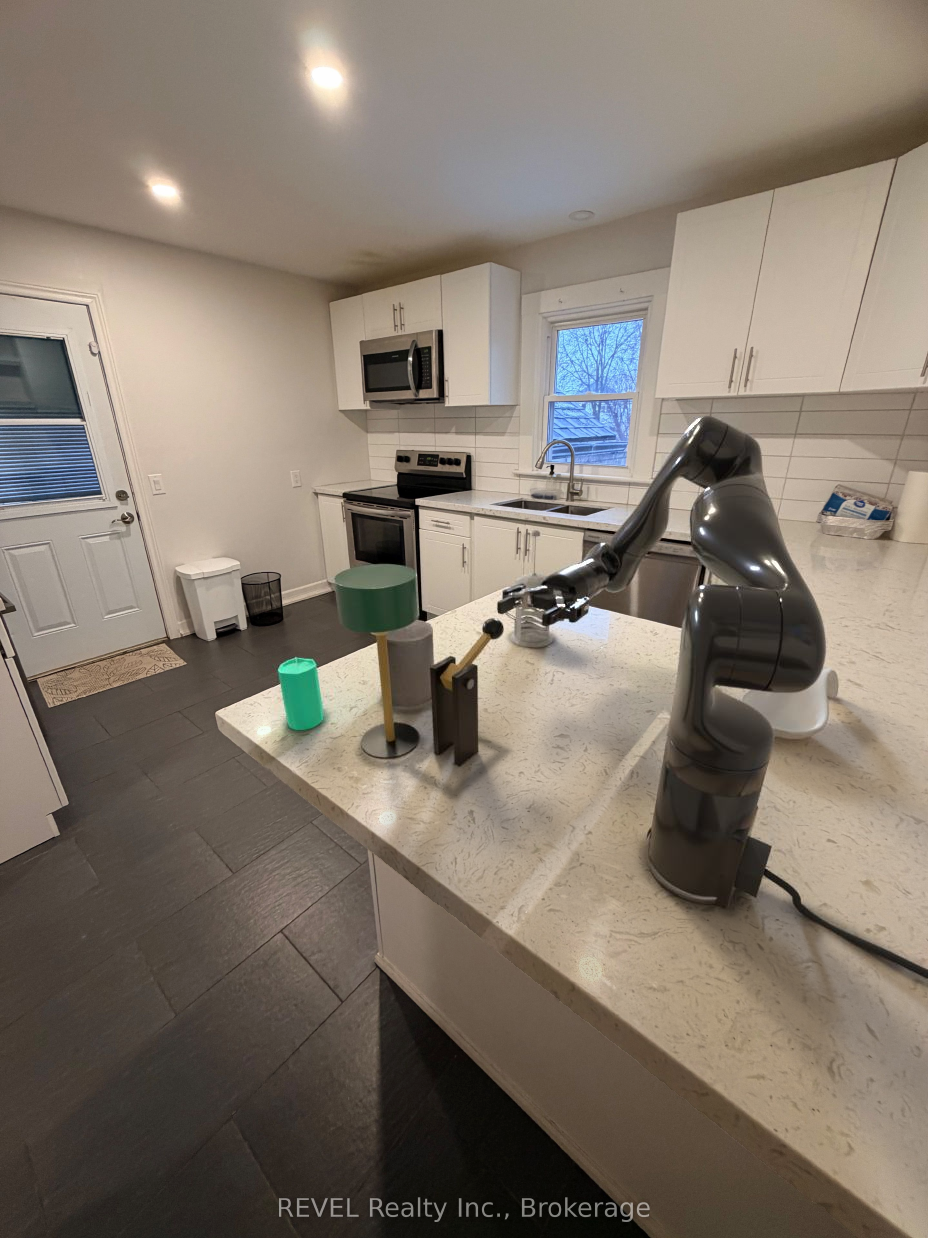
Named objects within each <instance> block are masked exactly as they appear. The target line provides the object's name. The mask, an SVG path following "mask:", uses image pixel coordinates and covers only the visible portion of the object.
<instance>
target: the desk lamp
mask: <svg viewBox="0 0 928 1238" xmlns="http://www.w3.org/2000/svg"><path fill="white" fill-rule="evenodd" d="M333 583H334V584H333V585H334V592H335V600H336V609H337V616H338V623H339V625H340V626H342V628H344V629H346V630H349V631H353V632H356V633H357V632H358V633H365V634H368V633H370V634H371V635H373V636H375V638H376V639H375V640H376V650H377V660H378V670H379V680H380V681H379V683H380V693H381V702H382V703H381V704H382V713H383V723H380V724H377V725H376V726H373V727H371V728H370V729H368V730H367V731H366V732H365V733H364V734H363V735H362V738H361V739H360V745H361V749H362V751H363V752H364V753H365V754H366V755H368V756H370V757H373V758H376V759H380V760H381V759H383V760H391V759H396V758H400V757H403V756H406V755H408V754H410V753H411V752H413V751H414V750H415V749H416V747H417V746H418V745H419V743H420V740H421V739H420V738H421V737H420V733H419V731H418V730H417V728H415V727H414V726H412V725H411V724H408V723H405V722H397V721H394V712H393V704H392V698H391V686H390V675H389V663H388V651H387V640H386V634H388V633H389V632H391V631H392V630H397V629H400V628H403V627H406V626H408V625H410V624H412V623H413V622H415V621H416V620H419V616H420V607H419V591H418V575H417V571H416V570H415V569H413V568H412V567H409V566H406V565H402V564H401V565H400V564H391V563H377V564H376V563H375V564H364V565H359V566H353V567H350V568H347V569H345V570H342V571H340V572H339V573H337V574H336V575H335V576H334V577H333Z"/></svg>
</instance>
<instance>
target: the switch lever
mask: <svg viewBox="0 0 928 1238" xmlns="http://www.w3.org/2000/svg"><path fill="white" fill-rule="evenodd" d="M481 629H482V634H481V635H480V636H479V638H478V639H477V640H476V642H475V643H474V644H473V645H472V647H471V648H470V649H469V650H468V652H467V653H466V654H465V655H464V656H463V658H462V659H461V660H460V661H459V662H458V664H457V663H456V664H453V663H451V664H450V665H449V667H448V668H447V669H446V670H445V671H444V673H443V674H442V675H441V676H440V678H441V680H442V682H443V684H444V686H445V688H447V689H449V690H452V675H454V674H456V673H457V672H459V671H461V670H462V669H464V668H466V667H467V666H469V665H471V664H474V661H475V660H476V659H477V658H478V657H479V655H480V654H481V653H482V652H483V650H484V649H485V648H486V646H487V645H488V644H489V643H490V641H491V640H493V641H494V640H495V641H496V640H498V639H500V638H501V637H502V636H503V634H504V632H505V631H504V630H505V627H504V624H503V622H502V621H501V620H499V618H495V617H491V618H488V619H487V620H485V621H484V622H483V624H482V628H481Z"/></svg>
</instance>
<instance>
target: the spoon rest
mask: <svg viewBox="0 0 928 1238" xmlns="http://www.w3.org/2000/svg"><path fill="white" fill-rule="evenodd" d="M839 684H840V683H839V676H838V674H837V672H836V670H834V669H830V668H824V667H823V670H822V672H821V674H820V676H819V678H818V679H817V681H816V682H815V683H814V684H813V685H812V686H810V687H809V688H808V689H806V690H803V691H801V692H796V693H772V692H764V691H756V690H747V691H746V692H744V694H742V696H741V697H740V699H739V700H740V701H742V702H744V703H746V704H748V705H750V706H751V707H753V708H754V709H756V710H757V711H759V712H760V713H761V714H762V715H763V716H765V717H766V719H767V720H768V721H769V722H770V724H771V726H772V728H773V730H774V736H775V737H778V738H782V739H787V740H800V739H807V738H810V737H812V736H814V735H816V734H818V733H819V732H822V730H823V729H824V728H825V727H826V725H827V724H828V722H829V717H830V707H829V705H830V704H829V697H832V698H836V697H837V696H838V694H839V686H840V685H839Z"/></svg>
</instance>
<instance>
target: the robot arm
mask: <svg viewBox="0 0 928 1238" xmlns="http://www.w3.org/2000/svg"><path fill="white" fill-rule="evenodd" d="M762 455H763V453H762V448H761V446H760V444H759V442H758V441H757V440H756V438H754V437H753V436H752V435H750V434H749V433H747V432H745V431H742V430H740V429H738V428H737V427H735V426H733V425H731V424H729V423H726V422H725V421H723V420H721V419H719V418H716V417H714V416H711V415H704V416H700V417H699V418H697V419H696V420H695V421H694V422H693V423H692V424H691V425H690V426H689V427H688V428H687V429H686V430H685V432H683V434H682V435H681V437H680V438H679V440H678V441H677V443H675V446H674V447H673V449H672V450H671V452H670V453H669V454H668V456H667V457H666V459H665V461H664V463H663V464H662V465H661V467H660V469H659V470H658V471H657V473H656V475H655V477H654V478H653V479H652V481H651V483H650V484H649V486H648V488H647V489H646V492H644V495H643V496H642V498H641V499H640V501H639V503H638V504H637V505H636V507H635V508H634V510H633V511H632V513H631V514H630V515H629V516H628V517H627V519H626V520H625V521H624V522H623V523H622V524H621V526H620V527H619V529H617V531H616V532H615V533H614V534H613V536H612V538H611V540H610V543H608V542H600V543H597V544H596V545H593V547H592V548H591V549H589V551H588V552H587V553H586V555H585V557H584V558H583V560H582V561H580V562H578V563H576V564H573V565H572V564H571V565H569V566H566V567H564V568H562V569H560V570H558V571H557V570H556V571H555V572H553V573H551V574H549V575H547V577H546V578H545V579H544V580H543V582H542V583H541V585H540V586H538V587H535V588H526V584H524V583H520V584H518V585H517V584H515V585H513V586H511V587H508V588H505V589H503V590H502V592H501V593H502V599H500V600H497V602H496V603H497V604H496V610H497V614H499V615H504V614H506V612H508V613H509V612H511V611H512V610H514V609H516V608H520V609H521V608H523V609H524V610H526V611H529V610H532V609H537V610H539V611H543V610H546V612H544V613H543V615H542V620H541V622H542V625H541V627H548V626H549V627H550V626H552V625H554V624H557V622H565V620H568V622H569V623H571V624H575V623H577V622H579V621H580V620H581V619H582V618H583V617H584V616H586V615H587V614H588V613H589V608H590V600H591V599H592V598H594V597H596V596H597V595H599V594H600V593H602V592H604V590H605V591H607V592H609V593H613V594H614V593H619V592H622V591H624V590H625V589H626V588H627V587H629V585H630V584H631V582H632V581H633V579H634V578H635V575H636V574H637V571H638V569H639V566H640V564H641V562H642V560H643V559H644V558H645V556H646V555H647V554H648V553H649V552H650V551H651V550H652V549H653V548H654V547H655V546H656V545H657V544H659V542H660V541H661V539H662V538H663V537H664V535H665V534H666V531H667V529H668V525H669V521H670V520H669V518H670V505H671V504H670V503H671V496H672V491H673V488H674V486H675V484H676V482H677V481H678V479H680V478H682V479H685V480H686V481H688V482H690V483H692V484H694V485H696V486H699V487H700V488H701V489H704V490H703V491H701V493H700V494H699V495H698V496H697V497H696V498H695V500H694V502H693V503H692V506H691V509H690V514H689V535H690V544H691V549H692V551H693V553H694V555H695V557H697V560H698V561H699V562H700V563H701V564H702V565H703V567H704V568H706V569H707V570H708V571H709V572H710V573H711V574H712V575H714V576H715V577H716V578H718V579H719V580H720V581H722V582H723V583H724V584H713V583H712V584H711V583H708V584H706V583H705V584H700V585H699V586H697V587H695V589H694V590H693V591H692V592H691V594H690V595H689V597H688V599H687V602H686V604H685V608H684V613H683V615H682V616H683V617H682V624H681V632H680V642H679V644H680V645H679V654H678V664H677V672H676V680H675V685H674V686H675V687H674V693H673V698H672V705H671V712H670V715H669V716H670V717H669V721H668V728H667V732H666V733H667V734H666V739H665V745H664V751H663V757H662V761H661V768H660V774H659V780H658V786H657V791H656V797H655V798H656V799H655V803H654V804H655V805H654V810H653V815H652V822H651V826H650V828H649V829H648V831H647V833H646V839H645V840H648V842H647V844H646V845H647V846H646V851H645V852H646V853H645V856H646V857H645V859H646V863H647V866H648V868H649V871H650V872H651V874H652V876H653V877H654V878H655V879H656V881H658V883H659V884H660V885H662V886H663V887H664V888H665V889H666V890H667V891H669V892H671V893H672V894H673V895H675V896H677V897H680V898H681V899H684V900H687V901H689V902H693V903H697V904H705V905H711V904H712V905H713V904H715V905H718V906H720V907H721V908H723V909H728V908H729V906H730V903H731V901H732V898H733V895H734V894H735V891H736V890H738V891H741V892H743V893H744V894H747V895H749V896H750V897H752V898H754V899H757V897H758V894H759V890H760V887H761V883H762V881H763V877H765V878H767V879H768V880H769V881H770V882H772V883H774V884H775V885H777V886H778V887H780V888H781V889H782V890H784V891H785V892H786V893H787V894H788V895H789V896H790V897H791V902H792V904H793V906H794V908H795V909H796V910H797V911H798V912H799V913H800V914H802V915H803V916H804V917H806V918H807V919H808V920H810V921H812V922H814V923H816V924H818V925H820V926H822V927H823V928H825V929H827V930H829V931H831V932H832V933H834V934H836V935H837V936H839V937H840V938H842V939H844V940H846V941H848V942H849V943H851V944H854V945H855V946H857V947H860V948H861V949H864V950H866V951H868V952H870V953H872V954H874V955H877V956H879V957H882V958H883V959H886V960H888V961H890V962H892V963H894V964H896V965H898V966H900V967H902V968H904V969H906V970H908V971H910V972H912V973H914V974H916V975H918V976H920V977H923V978H924V979H927V980H928V969H927V968H925V967H923V966H921V965H919V964H917V963H915V962H913V961H910V960H909V959H907V958H905V957H903V956H901V955H899V954H896V953H894V952H893V951H890V950H888V949H886V948H884V947H882V946H880V945H877V944H875V943H872V942H870V941H867V940H865V939H863V938H861V937H859V936H856V935H854V934H851V933H849V932H848V931H846V930H843V929H841V928H840V927H838V926H835V925H834V924H831V923H830V922H828V921H826V920H824V919H823V918H821V917H820V916H819V915H817V914H816V913H814V912H813V911H811V910H810V909H809V908H808V907H807V906H805V905H804V904H803V903H802V898H801V896H800V894H799V892H798V891H797V889H796V888H795V887H793V886H792V885H791V884H790V883H789V882H787V881H785V880H784V879H783V878H781V877H780V876H778V875H777V874H775V873H774V872H772V871H771V870H769V869H768V868H767V864H768V862H769V857H770V855H771V851H772V847H773V846H772V845H771V844H768V843H766V842H764V841H761V840H759V839H757V838H755V837H753V836H752V832H753V828H754V824H755V820H756V818H757V815H758V810H759V806H758V804H759V800H760V797H761V792H762V788H763V785H764V781H765V778H766V774H767V771H768V767H769V763H770V760H771V756H772V753H773V749H774V745H775V740H776V739H775V737H776V736H774V730H773V728H772V726H771V724H770V722H769V721H768V720H767V719H766V717H765V716H763V715H762V714H761V713H760V712H759V711H757V710H756V709H754V708H753V707H751V706H750V705H748V704H746V703H744V702H742V701H740V700H741V699H738V698H736V697H734V696H731V695H730V694H728V693H726V692H725V691H723V690H721V689H720V688H718V687H728V688H734V689H741V690H742V689H743V690H747V691H749V690H756V691H764V692H772V693H796V692H801V691H803V690H806V689H808V688H809V687H810V686H812V685H813V684H814V683H815V682H816V681H817V679H818V678H819V676H820V674H821V672H822V670H823V668H824V666H825V662H826V657H827V656H826V655H827V641H826V639H827V638H826V632H825V630H826V629H825V625H824V622H823V617H822V614H821V611H820V608H819V607H818V604H817V601H816V599H815V597H814V595H813V594H812V591H811V590H810V588H809V586H808V585H807V583H806V581H805V580H804V578H803V576H802V574H801V573H800V571H799V569H798V568H797V566H796V564H795V563H794V561H793V559H792V557H791V555H790V553H789V550H788V548H787V546H786V543H785V540H784V537H783V534H782V531H781V526H780V522H779V518H778V516H777V512H776V509H775V507H774V504H773V501H772V499H771V497H770V496H769V492H768V489H767V485H766V482H765V478H764V471H763V469H764V468H763V456H762ZM527 596H530V602H531V604H527ZM520 599H521V602H520V603H517V602H519V601H518V600H520ZM717 686H718V687H717Z"/></svg>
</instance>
